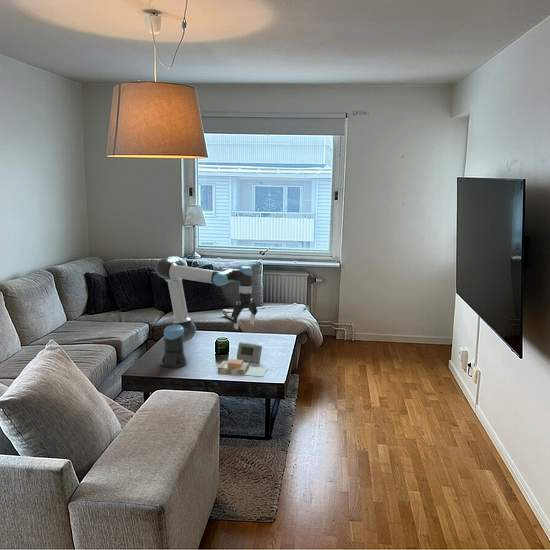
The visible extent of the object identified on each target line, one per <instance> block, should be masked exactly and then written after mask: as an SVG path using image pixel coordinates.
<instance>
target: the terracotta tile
mask: <svg viewBox="0 0 550 550" xmlns="http://www.w3.org/2000/svg"><path fill="white" fill-rule="evenodd" d="M227 361H228V363H227V367H236V368H241V367H242V365H243V363H244V361H243V360H238V359H237V358H230V359H229V360H227Z"/></svg>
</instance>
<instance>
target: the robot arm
mask: <svg viewBox="0 0 550 550" xmlns="http://www.w3.org/2000/svg"><path fill="white" fill-rule="evenodd" d="M154 268H155V273H156V274H157V275H158V276H159V277H160V278H162V279H164V281H166V282H167V286H168V291H169V295H170V300H171V306H172V311H173V312H172V313H173V317H174V320H173V321H172V324H169V325H167V326H166V327H165V328H164V329H163V348H164V349H163V351H164V352H163V354H162V358H161V363H160V364H161V366H162V367H163V368H167V369H168V368H169V369H177V368H182V367H185V366H186V365H187V364H186V363H187V362H188V361H187V358H186V355H185V351H184V350H185V349H184V348H185V347H184V346H185V345H184V344H185V343H187V342H188V341H190V340H192V339H193V338H194V337H195V335H196V332H197V326H196V325H195V323H194V322H193V321H192V318H191V317H189V314H188V308H187V307H188V306H187V302H186V297H185V291H184V285H183V280H188V281H195V282H199V283H200V282H201V283H209V284H214V285H215V286H217V287H221V286H225V285H226V284H229V283H231V282H234V283H235V282H237V283H239V286H238V287H239V288H238V291H239V293H238V298H239V301H235V303H234V304H235V305H234V307H233V310H232V313H231V315H230V317H231V318H233V328H234V329H235V330H239V316H240V315H241V313H242V311H243V310H244V309H245V308H247V309H248V310H249V312H250V314H249V316H250V317H249V320H250V321H249V325H251V326H254V325H255V319H256V315H257V314H258V308H257V306H256V303H255V302H256V301H255V298H252V295H253V294H252V290H253V289H252V288H253V268H252V267H251V266H248V265H246V266H245V265H244V266H240V268H239V269H238V268H237V269H236V268H231V267H230V268H229V267H225V268H224V267H223V268H221V270H220V271H219V270H214V269H213V270H212V269H206V268H205V269H204V268H199V267H192V266H187V265H186V266H185V261H184V260H183V259H182V258H181V257H180V256H177V255H173V256H172V255H171V256H168V257H164V258H161V259H159V260H158V261H157V262H156V264H155V267H154Z"/></svg>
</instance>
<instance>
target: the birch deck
mask: <svg viewBox="0 0 550 550" xmlns="http://www.w3.org/2000/svg"><path fill="white" fill-rule="evenodd" d="M228 361H229V360H223V361H222V362H221V363H220V364H219V365H218V367H217V373H221V372H226V373H225V374H231V373H235V374H234V375H242V374H243V376H245V373H246V371H247V370H248V369H249V367H250V362H243V365H242V367H241V368H236V367H227V363H228Z"/></svg>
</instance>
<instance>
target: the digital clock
mask: <svg viewBox="0 0 550 550" xmlns="http://www.w3.org/2000/svg"><path fill="white" fill-rule="evenodd" d="M262 350H263V346H262V345H260V344H255V343H249V342H238V346H237V352H236V359H237V360H243V362H247V361H249V362H248V363H253V362H254V363H255V362H256V364H259V363H261V355H262Z"/></svg>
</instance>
